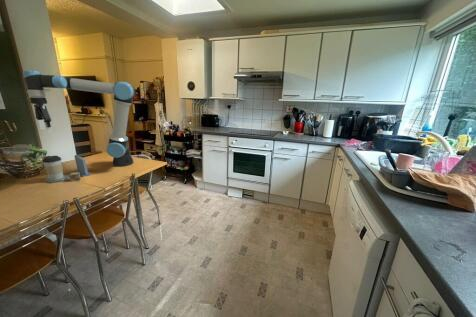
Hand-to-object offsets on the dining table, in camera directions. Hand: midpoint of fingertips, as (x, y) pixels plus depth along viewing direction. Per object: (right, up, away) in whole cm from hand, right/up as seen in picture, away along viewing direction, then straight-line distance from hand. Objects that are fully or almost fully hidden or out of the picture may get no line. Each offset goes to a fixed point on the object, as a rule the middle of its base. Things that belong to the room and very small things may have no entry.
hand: (46, 130), depth 131 cm
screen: (+15, -29, +12) cm, 35 cm away
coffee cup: (+6, -32, +1) cm, 32 cm away
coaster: (+6, -32, +1) cm, 33 cm away
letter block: (+18, -33, +1) cm, 37 cm away
